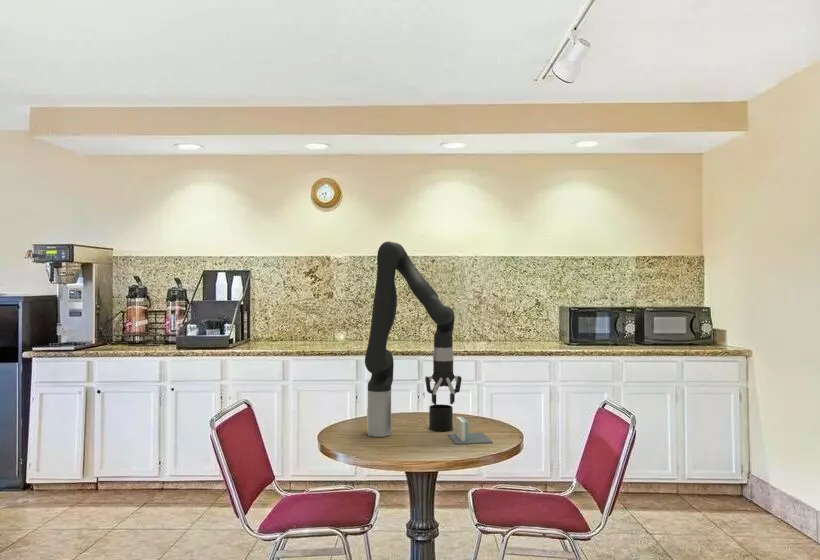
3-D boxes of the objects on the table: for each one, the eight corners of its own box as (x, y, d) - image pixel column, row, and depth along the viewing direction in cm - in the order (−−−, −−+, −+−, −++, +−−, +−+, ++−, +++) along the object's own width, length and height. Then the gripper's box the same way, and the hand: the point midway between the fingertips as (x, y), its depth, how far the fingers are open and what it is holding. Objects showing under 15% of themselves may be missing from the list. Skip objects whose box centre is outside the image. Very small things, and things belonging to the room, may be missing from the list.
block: (461, 441, 203) (461, 422, 204) (456, 435, 212) (456, 416, 212) (468, 441, 204) (468, 421, 204) (462, 434, 213) (462, 416, 213)
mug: (441, 424, 233) (441, 402, 233) (457, 430, 222) (457, 407, 222) (421, 426, 228) (421, 404, 228) (437, 433, 218) (437, 409, 218)
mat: (455, 444, 201) (455, 443, 201) (447, 435, 214) (447, 433, 214) (492, 443, 203) (492, 441, 203) (482, 433, 216) (482, 432, 216)
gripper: (426, 360, 203) (426, 406, 203) (464, 360, 205) (464, 405, 205) (422, 358, 211) (422, 402, 210) (459, 357, 213) (459, 401, 212)
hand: (443, 403), depth 207 cm, fingers open, 5 cm apart
